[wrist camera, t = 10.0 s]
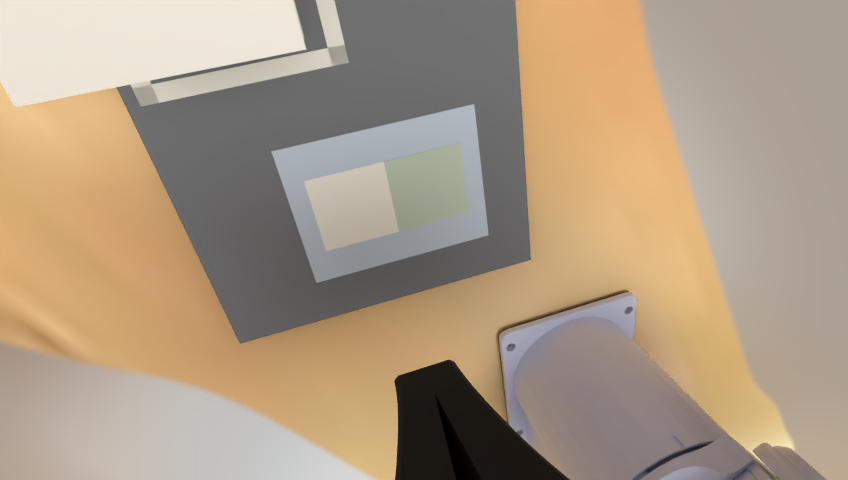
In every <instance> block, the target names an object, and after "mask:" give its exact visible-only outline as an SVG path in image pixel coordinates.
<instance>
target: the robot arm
mask: <svg viewBox="0 0 848 480" xmlns="http://www.w3.org/2000/svg"><path fill="white" fill-rule="evenodd" d="M636 303H637V299H636V297H635V296H634V295H633V294H632V293H630V292H626V293H622V294H619V295H616V296H613V297H610V298H606V299H603V300H600V301H597V302H593V303H590V304H587V305H584V306H580V307H577V308H574V309H571V310H567V311H564V312H561V313H558V314H555V315H551V316H548V317H545V318H542V319H538V320H535V321H532V322H529V323H525V324H522V325H519V326H516V327H513V328H509V329H506V330H504V331H503V332H502V333H501V334H500V336H499V344H500V353H501V362H502V371H503V380H504V389H505V398H506V407H507V416H508V423H507V422H506V421H505V420H504V419H503V418H502V417H501V416H500V415H499V414H498V413H497V412H496V411H495V410H494V409H493V408H492V407H491V406H490V405H489V404H488V403H487V402H486V401H485V400H484V398H483V397H482V396H481V395H480V394H479V393H478V392H477V390H476V389H475V388H474V387H473V386H472V385H471V383H470V382H469V381H468V380H467V378H466V377H465V376H464V375H463V373H462V372H461V371H460V369H459V368H458V367H457V365H456V364H455V362H453V361H451V360H446V361H443V362H440V363H437V364H434V365H431V366H428V367H424V368H421V369H418V370H415V371H412V372H409V373H406V374H402V375H399V376H398V377H397V378H396V379H395V381H394V382H395V387H396V392H397V402H398V447H397V466H396V477H395V480H826V479H825V478H824V477H823V476H822V475H821V474H820V473H818V472H817V471H816V470H815V469H814V468H813V467H812V466H810V465H809V464H808V463H807V462H806V461H805V460H804V459H802V458H801V457H800V456H799V455H798V454H797V453H795V452H794V451H793V450H792V449H790V448H787V447H780V446H774V447H772V446H771V445H769V444H768V443H762V444H760V445H759V446H758V447H756V448H755V449H754V450H753V452H754V453H755V454H756V456H757V457H758V458H759V459H760V460H761V461H762V462H763V463H764V464H765V465H766V466H767V467H768V468H769V469H770V470H771V471H772V472H773V473H774V474H775V475H776V476H775V475H774V474H773V473H772V472H771V471H770V470H769V469H768V468H767V467H766V466H765V465H764V464H763V463H762V462H760V461H759V460H758V459H757V458H756V457H754V456H753V455H752V454H751V453H750V452H748V451H747V450H746V449H745V448H744V447H743V446H741V445H740V444H739V443H738V442H737V441H735V440H734V439H733V438H732V437H731V436H729V435H728V434H727V433H726V432H725V431H724V430H723V429H722V428H721V427H720V426H719V425H718V424H717V423H716V422H715V421H714V420H713V419H712V418H711V417H710V416H709V415H708V414H707V413H706V412H705V411H704V410H703V409H702V408H701V407H700V406H699V405H698V404H697V403H696V402H695V401H694V400H693V399H692V398H691V397H690V396H689V395H688V394H687V393H686V392H685V391H684V390H683V389H682V388H681V387H680V386H679V385H678V384H677V383H676V382H675V381H674V380H673V379H672V378H671V377H670V376H669V375H668V374H667V373H666V372H665V371H664V370H663V369H662V368H661V367H660V366H659V365H658V364H657V363H656V362H655V361H654V360H653V359H652V358H651V357H650V356H649V355H648V354H647V353H646V352H645V351H644V350H642V349H641V348H640V347H639V346H638V345H637V344H636V343H635V342H634V341H633V340H634V328H635V315H636ZM509 344H511V345H510V346H508V345H509ZM507 346H508V347H507Z"/></svg>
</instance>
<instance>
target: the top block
mask: <svg viewBox="0 0 848 480" xmlns="http://www.w3.org/2000/svg"><path fill="white" fill-rule="evenodd" d="M301 50H306V47H305V43H304V39H303V36H302V32H301V28H300V24H299V21H298V17H297V13H296V9H295V6H294V2H293V0H0V82H1V84H2V86H3V87H4V89H5V91H6V93H7V94H8V96H9V98H10V99H11V101H12V103H13V104H14V106H15V107H19V106H24V105H29V104H34V103H39V102H44V101H49V100H54V99H59V98H64V97H70V96H75V95H80V94H85V93H90V92H95V91H100V90H105V89H110V88H115V87H120V86H125V85H130V84H135V83H140V82H145V81H150V80H155V79H160V78H165V77H170V76H175V75H180V74H185V73H190V72H195V71H201V70H206V69H211V68H216V67H221V66H226V65H231V64H236V63H241V62H246V61H251V60H256V59H261V58H266V57H271V56H276V55H281V54H286V53H291V52H296V51H301Z"/></svg>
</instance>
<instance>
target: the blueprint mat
mask: <svg viewBox="0 0 848 480" xmlns="http://www.w3.org/2000/svg"><path fill="white" fill-rule="evenodd" d="M294 1H295V5H296V8H297V12H298V16H299V19H300V23H301V27H302V30H303V34H304V38H305V39H304V43H305V47H306V50H301V51H296V52H291V53H286V54H281V55H276V56H271V57H266V58H261V59H256V60H251V61H246V62H241V63H236V64H231V65H226V66H221V67H216V68H211V69H206V70H201V71H195V72H190V73H185V74H180V75H175V76H170V77H165V78H160V79H155V80H150V81H145V82H140V83H135V84H130V85H125V86H120V87H117V89H118V91H119V93H120V95H121V98H122V100H123V102H124V104H125V106H126V108H127V110H128V112H129V114H130V116H131V118H132V120H133V122H134V124H135V127H136V129H137V131H138V133H139V135H140V137H141V139H142V141H143V143H144V145H145V147H146V149H147V151H148V153H149V156H150V158H151V160H152V162H153V164H154V166H155V168H156V170H157V172H158V174H159V176H160V178H161V180H162V183H163V185H164V187H165V189H166V191H167V193H168V195H169V197H170V199H171V201H172V203H173V205H174V207H175V209H176V212H177V214H178V216H179V218H180V220H181V222H182V224H183V226H184V228H185V230H186V232H187V234H188V236H189V239H190V241H191V243H192V245H193V247H194V249H195V251H196V253H197V255H198V257H199V259H200V261H201V263H202V265H203V268H204V270H205V272H206V274H207V276H208V278H209V280H210V282H211V284H212V286H213V288H214V290H215V292H216V295H217V297H218V299H219V301H220V303H221V305H222V307H223V309H224V311H225V313H226V315H227V317H228V319H229V321H230V324H231V326H232V328H233V330H234V332H235V334H236V336H237V338H238V340H239V342H240V343H244V342H247V341H251V340H254V339H258V338H261V337H265V336H268V335H272V334H275V333H278V332H282V331H285V330H289V329H292V328H296V327H299V326H303V325H306V324H310V323H313V322H317V321H320V320H323V319H327V318H330V317H334V316H337V315H341V314H344V313H348V312H351V311H355V310H358V309H362V308H365V307H368V306H372V305H375V304H379V303H382V302H386V301H389V300H393V299H396V298H400V297H403V296H406V295H410V294H413V293H417V292H420V291H424V290H427V289H431V288H434V287H438V286H441V285H445V284H448V283H451V282H455V281H458V280H462V279H465V278H469V277H472V276H476V275H479V274H483V273H486V272H490V271H493V270H496V269H500V268H503V267H507V266H510V265H514V264H517V263H521V262H524V261H528V260H531V256H530V240H529V223H528V206H527V190H526V173H525V156H524V140H523V123H522V106H521V90H520V73H519V56H518V40H517V23H516V6H515V0H294Z"/></svg>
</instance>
